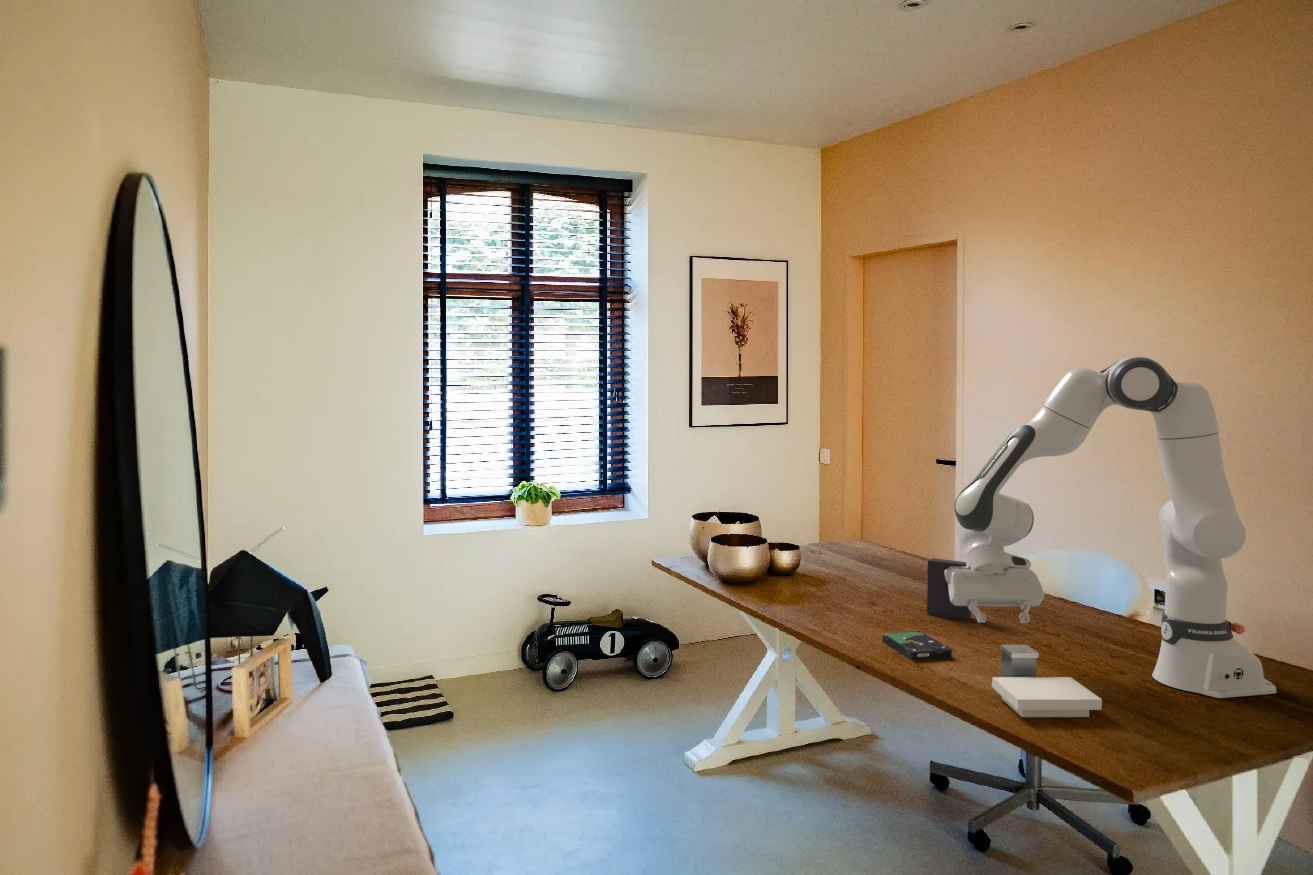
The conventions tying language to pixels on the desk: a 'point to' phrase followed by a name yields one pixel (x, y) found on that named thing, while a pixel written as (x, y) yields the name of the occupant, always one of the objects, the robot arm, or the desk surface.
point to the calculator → (943, 591)
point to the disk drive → (917, 645)
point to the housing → (1018, 661)
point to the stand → (1046, 696)
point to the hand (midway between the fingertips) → (1004, 621)
